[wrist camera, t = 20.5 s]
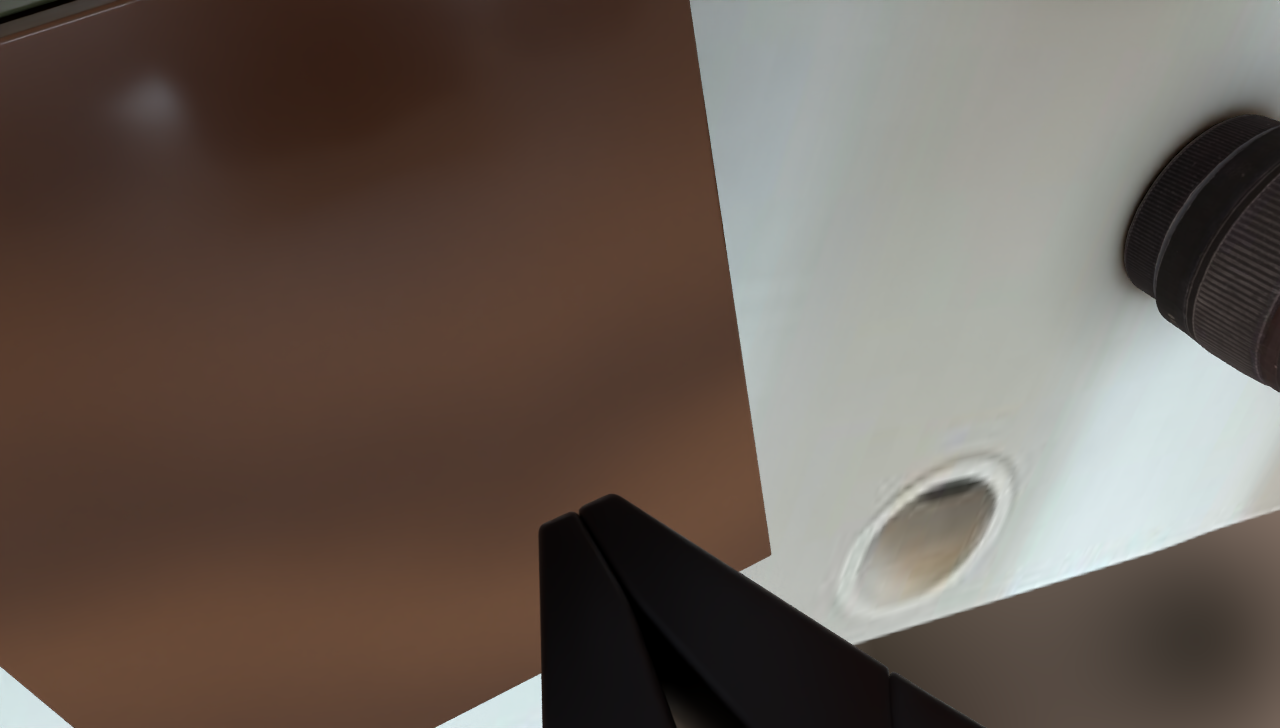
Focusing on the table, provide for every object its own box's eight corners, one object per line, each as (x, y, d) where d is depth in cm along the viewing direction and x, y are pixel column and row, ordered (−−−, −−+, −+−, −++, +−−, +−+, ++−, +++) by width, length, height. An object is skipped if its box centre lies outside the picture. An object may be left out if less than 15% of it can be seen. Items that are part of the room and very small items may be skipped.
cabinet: (-322, 30, 14) (-551, 213, 9) (510, -216, 16) (665, -173, 12) (192, 613, 24) (210, 843, 19) (657, 400, 26) (772, 556, 22)
